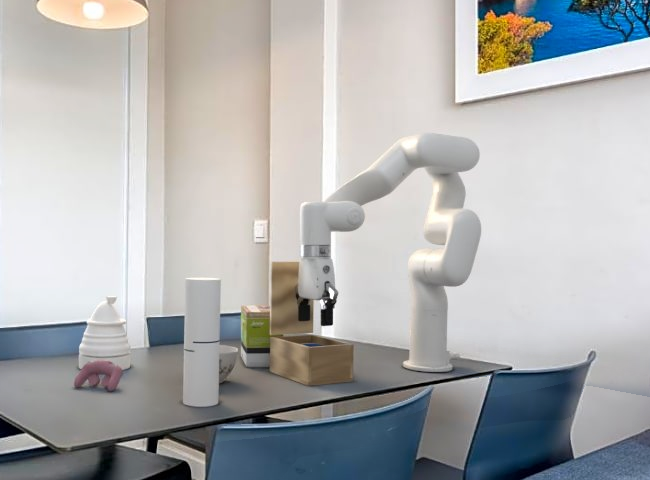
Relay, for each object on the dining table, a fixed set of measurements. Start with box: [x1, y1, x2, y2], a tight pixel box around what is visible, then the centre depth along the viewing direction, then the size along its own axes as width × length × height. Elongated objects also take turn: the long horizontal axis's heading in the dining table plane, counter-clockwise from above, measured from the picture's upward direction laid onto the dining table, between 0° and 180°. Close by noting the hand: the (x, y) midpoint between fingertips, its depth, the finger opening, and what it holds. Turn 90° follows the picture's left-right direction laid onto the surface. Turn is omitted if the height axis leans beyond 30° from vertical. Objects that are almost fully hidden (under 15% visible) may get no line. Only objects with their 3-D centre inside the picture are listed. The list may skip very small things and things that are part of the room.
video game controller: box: [73, 360, 124, 392], centre depth 148 cm, size 10×5×7 cm, turn 71°
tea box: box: [240, 304, 284, 368], centre depth 182 cm, size 15×10×15 cm, turn 6°
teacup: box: [219, 344, 239, 384], centre depth 157 cm, size 15×12×8 cm
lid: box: [269, 261, 315, 336], centre depth 174 cm, size 18×13×5 cm
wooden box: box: [269, 334, 355, 387], centre depth 164 cm, size 18×13×9 cm
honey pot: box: [78, 295, 131, 371], centre depth 172 cm, size 13×13×18 cm
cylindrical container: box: [182, 277, 222, 408], centre depth 136 cm, size 7×7×25 cm
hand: (315, 323), depth 163 cm, fingers open, 9 cm apart
